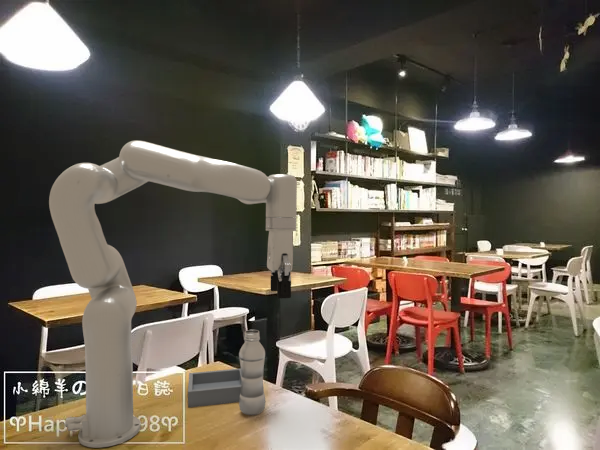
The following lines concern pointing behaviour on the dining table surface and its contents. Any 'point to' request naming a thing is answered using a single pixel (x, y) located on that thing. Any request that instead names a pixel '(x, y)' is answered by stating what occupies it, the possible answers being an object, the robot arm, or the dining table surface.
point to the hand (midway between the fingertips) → (280, 294)
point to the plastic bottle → (252, 374)
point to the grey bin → (214, 387)
